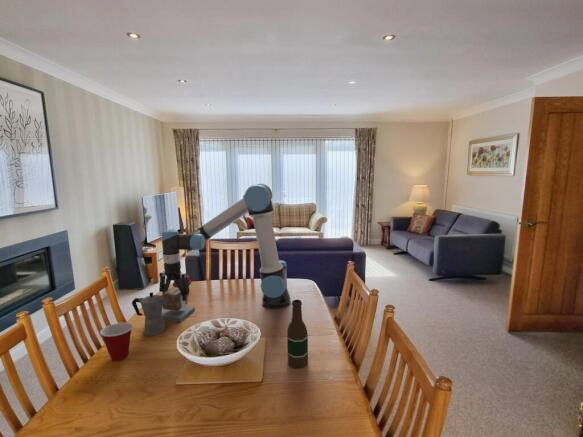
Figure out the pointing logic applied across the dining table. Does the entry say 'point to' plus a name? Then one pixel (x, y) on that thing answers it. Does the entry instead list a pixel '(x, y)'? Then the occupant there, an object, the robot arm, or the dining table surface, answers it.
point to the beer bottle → (297, 338)
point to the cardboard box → (173, 299)
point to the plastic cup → (117, 340)
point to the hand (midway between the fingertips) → (175, 305)
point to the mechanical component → (181, 280)
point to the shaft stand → (177, 314)
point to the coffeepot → (151, 313)
